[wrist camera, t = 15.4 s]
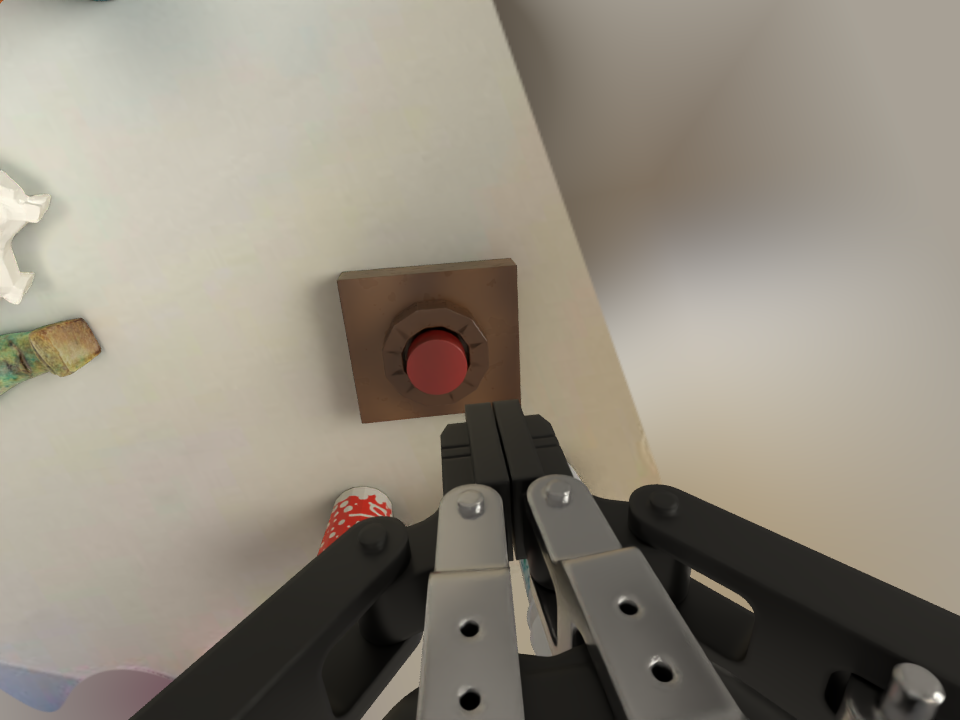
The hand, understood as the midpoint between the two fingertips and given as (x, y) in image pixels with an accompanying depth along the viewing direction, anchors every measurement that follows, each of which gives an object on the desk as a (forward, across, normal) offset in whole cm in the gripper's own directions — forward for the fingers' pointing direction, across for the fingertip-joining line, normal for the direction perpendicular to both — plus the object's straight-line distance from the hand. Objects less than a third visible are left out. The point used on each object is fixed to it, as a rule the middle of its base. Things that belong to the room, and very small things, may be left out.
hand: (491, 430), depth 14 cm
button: (+17, +2, +5) cm, 18 cm away
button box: (+20, +2, +5) cm, 21 cm away
